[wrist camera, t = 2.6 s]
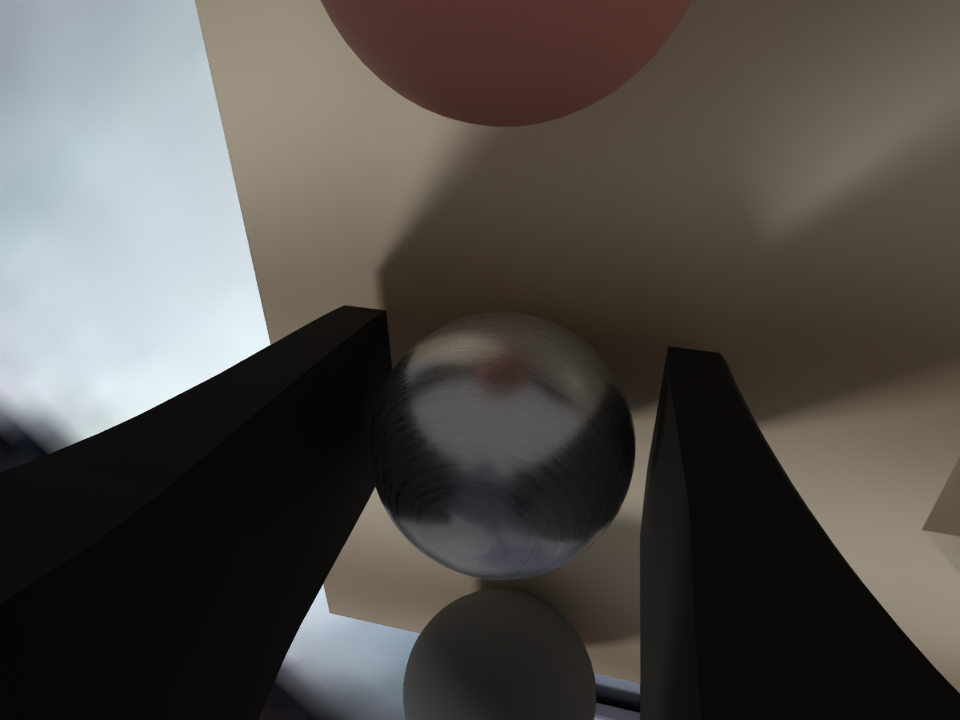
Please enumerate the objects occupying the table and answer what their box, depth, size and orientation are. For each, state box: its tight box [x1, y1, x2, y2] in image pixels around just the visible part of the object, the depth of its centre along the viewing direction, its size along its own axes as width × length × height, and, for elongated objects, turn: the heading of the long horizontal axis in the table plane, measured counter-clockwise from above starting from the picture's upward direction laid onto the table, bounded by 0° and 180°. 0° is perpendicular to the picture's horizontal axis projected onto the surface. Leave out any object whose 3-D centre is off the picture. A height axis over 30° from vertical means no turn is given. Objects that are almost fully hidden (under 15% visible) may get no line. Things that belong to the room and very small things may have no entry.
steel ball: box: [369, 312, 636, 580], centre depth 9 cm, size 3×3×3 cm
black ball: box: [403, 589, 596, 720], centre depth 12 cm, size 3×3×3 cm
